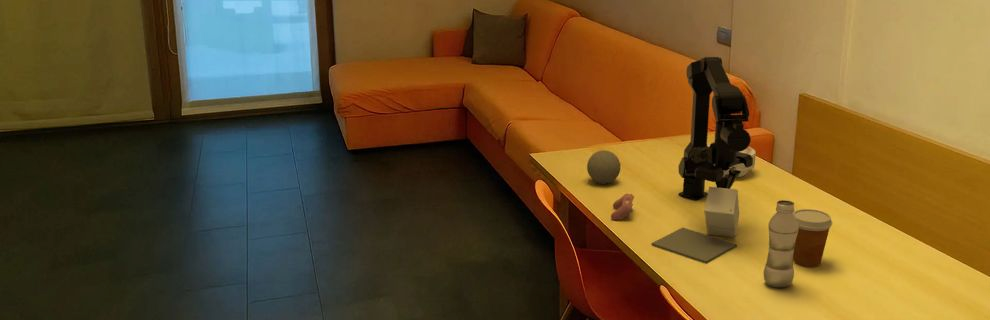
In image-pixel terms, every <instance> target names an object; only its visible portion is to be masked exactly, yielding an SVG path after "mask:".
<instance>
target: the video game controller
mask: <svg viewBox="0 0 990 320" xmlns="http://www.w3.org/2000/svg"><path fill="white" fill-rule="evenodd" d="M634 198H635V196H634V194H632V193H628V192H626V193H625V194H623V196H621V197H620V198H619V199H616V200H615V201H614V202H613V204H612V207H613V209H615V210H614V211H613V212H612V213H611V214H610V219H611V220H612V221H619V220H621V219H623V218H624V217H625V218H626V217H627V216H628V215H629V214H630V213H632V212H634V208H633V205H634V203H633V202H634Z"/></svg>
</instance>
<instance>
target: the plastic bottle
mask: <svg viewBox="0 0 990 320" xmlns="http://www.w3.org/2000/svg"><path fill="white" fill-rule="evenodd" d="M775 211H776V212H775V213H774V214H773V216H772V217H770V220H769V221H768V238H769V239H768V253H767V258H766V262H765V265H764V269H763V280H764V282H765V283H766V284H767V285H769V286H771V287H774V288H787V287H789V286H790V285H791V284H792V283H793V281H794V277H795V272H794V271H795V270H794V269H795V268H794V261H793V253H794V247H795V241H796V237H797V234H798V230H799V223H798V221H797V219H796V217H795V216H794V215H793V212H794V211H795V202H793V201H791V200H785V199H780V200H778V201H776V207H775Z"/></svg>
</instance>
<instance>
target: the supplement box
mask: <svg viewBox="0 0 990 320" xmlns="http://www.w3.org/2000/svg"><path fill="white" fill-rule="evenodd" d="M707 191H708V192H707V193H708V195H707V196H706V200H705V204H704V216H705V225H706V232H707V235H708V234H709V235H714V236H715V235H717V236H722V237H723V236H724V237H731V238H736V236H737V231H738V225H739V220H740V219H739V218H740V206H739V192H738V189H735V188H730V189H727V188H718V187H717V186H708V190H707Z"/></svg>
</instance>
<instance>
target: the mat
mask: <svg viewBox="0 0 990 320" xmlns="http://www.w3.org/2000/svg"><path fill="white" fill-rule="evenodd" d="M650 246H653V247H655V248H658V249H662V250H665V251H667V252H671V253H674V254H677V255H679V256H682V257H685V258H687V259H691V260H694V261H697V262H700V263H703V264H708V263H710V262H712V261H713V260H715V259H717V258H719V257H720V256H723V255H724V254H726V253H727V252H729V251H731V250H733V249H734V248H737V246H738V245H737V243H734V242H732V241H728V240H724V239H721V238H717V237H714V236H712V235H710V234H709V235H708V234H705V233H701V232H698V231H695V230H692V229H689V228H686V227H680V228H678V229H677V230H675V231H673V232H670V233H669V234H666V235H664V236H662V237H661V238H658V239H657V240H655V241H653V242H651V245H650Z"/></svg>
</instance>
